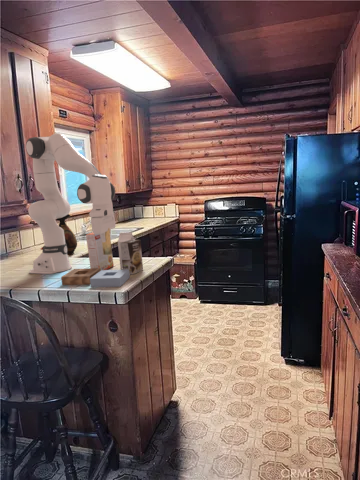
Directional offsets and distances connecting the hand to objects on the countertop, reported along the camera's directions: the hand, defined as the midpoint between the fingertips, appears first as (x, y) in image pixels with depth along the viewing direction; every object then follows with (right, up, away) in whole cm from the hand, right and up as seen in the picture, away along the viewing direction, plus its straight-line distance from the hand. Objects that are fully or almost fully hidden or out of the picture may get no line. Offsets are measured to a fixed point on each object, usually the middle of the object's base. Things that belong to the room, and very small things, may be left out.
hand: (106, 240), depth 160 cm
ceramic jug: (-43, -10, +74) cm, 87 cm away
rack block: (-14, -19, +10) cm, 26 cm away
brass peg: (0, -6, +1) cm, 6 cm away
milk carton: (+6, -15, +29) cm, 33 cm away
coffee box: (+10, -16, +19) cm, 27 cm away
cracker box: (-8, -16, +28) cm, 33 cm away
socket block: (+2, -19, +3) cm, 20 cm away
